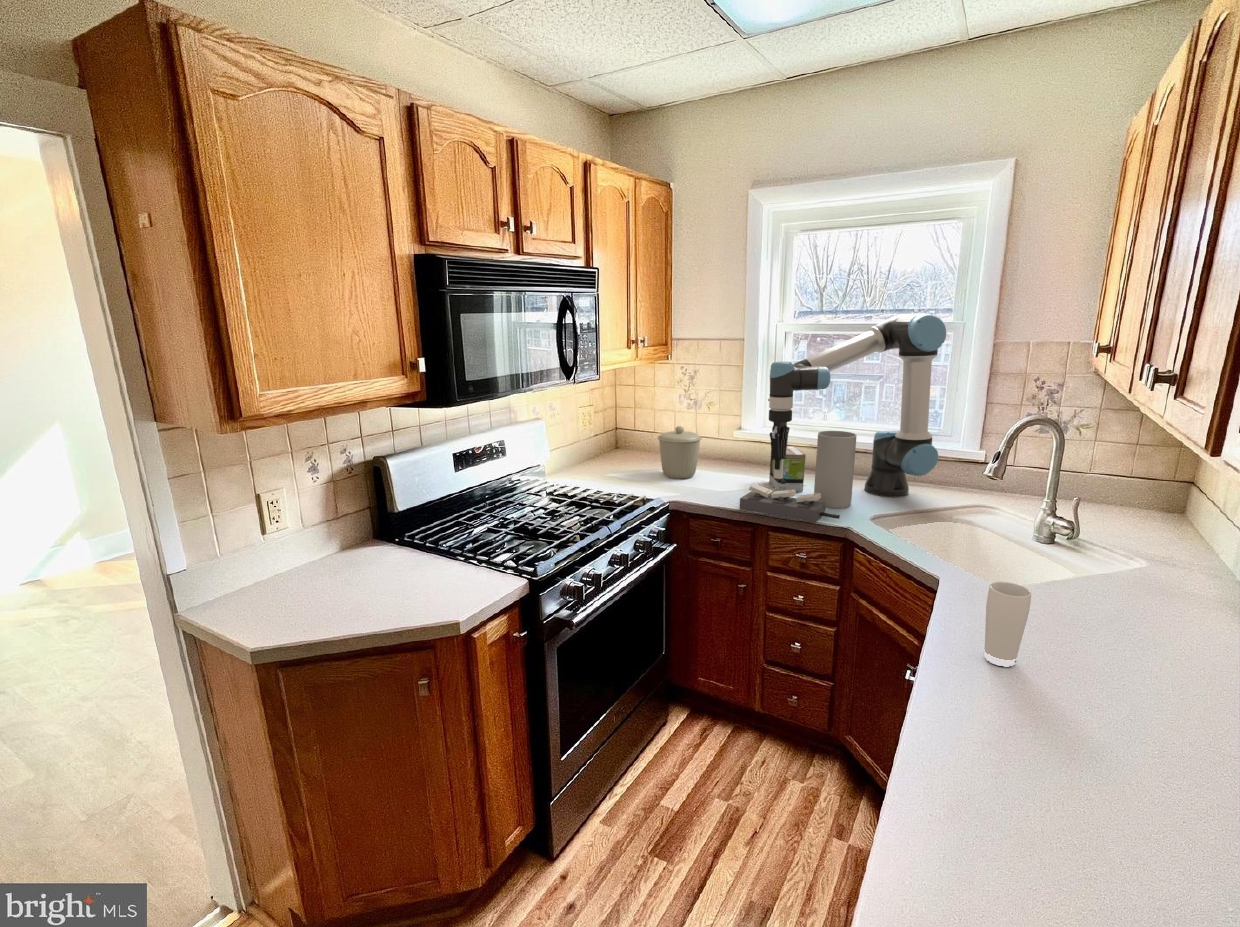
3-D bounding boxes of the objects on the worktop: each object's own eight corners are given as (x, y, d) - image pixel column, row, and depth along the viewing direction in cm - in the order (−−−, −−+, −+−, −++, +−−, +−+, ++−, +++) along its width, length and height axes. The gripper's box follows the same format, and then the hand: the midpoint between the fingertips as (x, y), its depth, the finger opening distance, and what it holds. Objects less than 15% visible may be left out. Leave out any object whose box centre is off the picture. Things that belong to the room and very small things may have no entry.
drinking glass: (1028, 666, 115) (1040, 593, 111) (1002, 674, 113) (1013, 599, 109) (996, 649, 121) (1006, 579, 118) (970, 655, 119) (980, 584, 115)
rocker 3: (821, 499, 202) (820, 492, 202) (817, 502, 199) (816, 495, 199) (801, 501, 207) (799, 494, 206) (797, 504, 203) (795, 497, 203)
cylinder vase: (856, 508, 209) (863, 437, 203) (821, 509, 208) (826, 437, 203) (842, 498, 221) (847, 430, 215) (808, 499, 221) (812, 431, 215)
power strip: (843, 517, 201) (844, 501, 199) (834, 525, 192) (836, 509, 191) (750, 502, 218) (751, 487, 217) (739, 509, 210) (740, 494, 208)
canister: (689, 483, 242) (690, 431, 237) (649, 478, 251) (649, 427, 246) (707, 473, 257) (709, 424, 252) (669, 468, 266) (670, 421, 261)
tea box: (804, 492, 229) (806, 453, 226) (777, 492, 230) (779, 454, 226) (793, 481, 244) (795, 445, 240) (768, 481, 244) (770, 445, 241)
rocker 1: (771, 496, 212) (773, 490, 211) (766, 499, 209) (768, 493, 208) (753, 488, 215) (754, 483, 215) (748, 491, 212) (750, 485, 211)
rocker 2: (796, 495, 207) (795, 489, 207) (792, 498, 203) (791, 492, 203) (776, 497, 211) (775, 490, 211) (772, 500, 208) (771, 493, 207)
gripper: (776, 405, 209) (774, 472, 215) (762, 411, 199) (760, 481, 204) (798, 407, 205) (795, 475, 211) (785, 412, 194) (782, 484, 200)
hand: (778, 477), depth 207 cm, fingers closed
